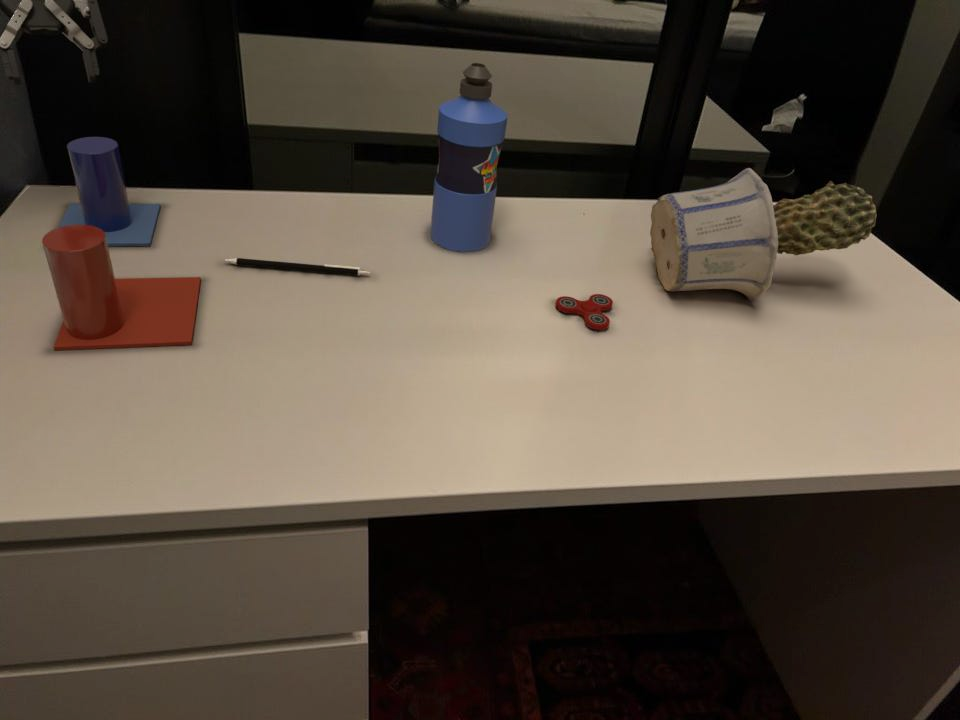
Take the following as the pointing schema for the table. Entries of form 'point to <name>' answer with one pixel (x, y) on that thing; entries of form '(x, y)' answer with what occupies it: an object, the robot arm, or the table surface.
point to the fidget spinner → (588, 309)
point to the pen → (299, 266)
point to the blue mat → (130, 236)
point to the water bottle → (467, 164)
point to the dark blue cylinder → (100, 183)
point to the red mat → (147, 315)
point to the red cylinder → (84, 281)
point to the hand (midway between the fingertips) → (55, 82)
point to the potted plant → (749, 232)
